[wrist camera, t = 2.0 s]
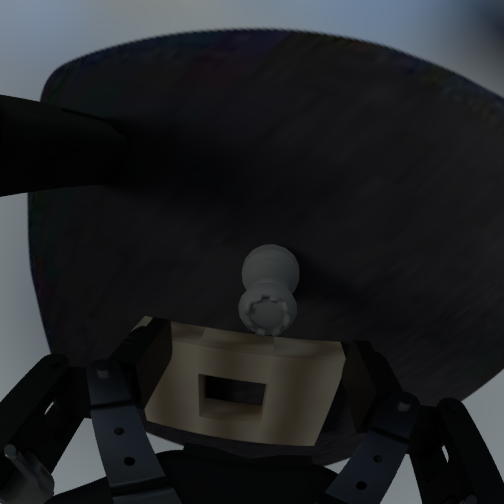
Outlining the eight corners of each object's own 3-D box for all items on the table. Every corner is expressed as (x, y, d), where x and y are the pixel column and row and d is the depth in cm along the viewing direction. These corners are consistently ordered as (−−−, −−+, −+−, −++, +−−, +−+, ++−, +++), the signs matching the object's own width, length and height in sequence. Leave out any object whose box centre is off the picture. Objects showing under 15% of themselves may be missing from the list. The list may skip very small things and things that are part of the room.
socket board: (340, 341, 23) (346, 361, 20) (311, 426, 26) (313, 445, 23) (145, 315, 24) (131, 331, 21) (156, 403, 27) (147, 420, 24)
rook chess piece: (280, 305, 23) (281, 363, 15) (233, 279, 23) (211, 329, 15) (309, 260, 22) (326, 303, 14) (260, 232, 21) (250, 262, 14)
